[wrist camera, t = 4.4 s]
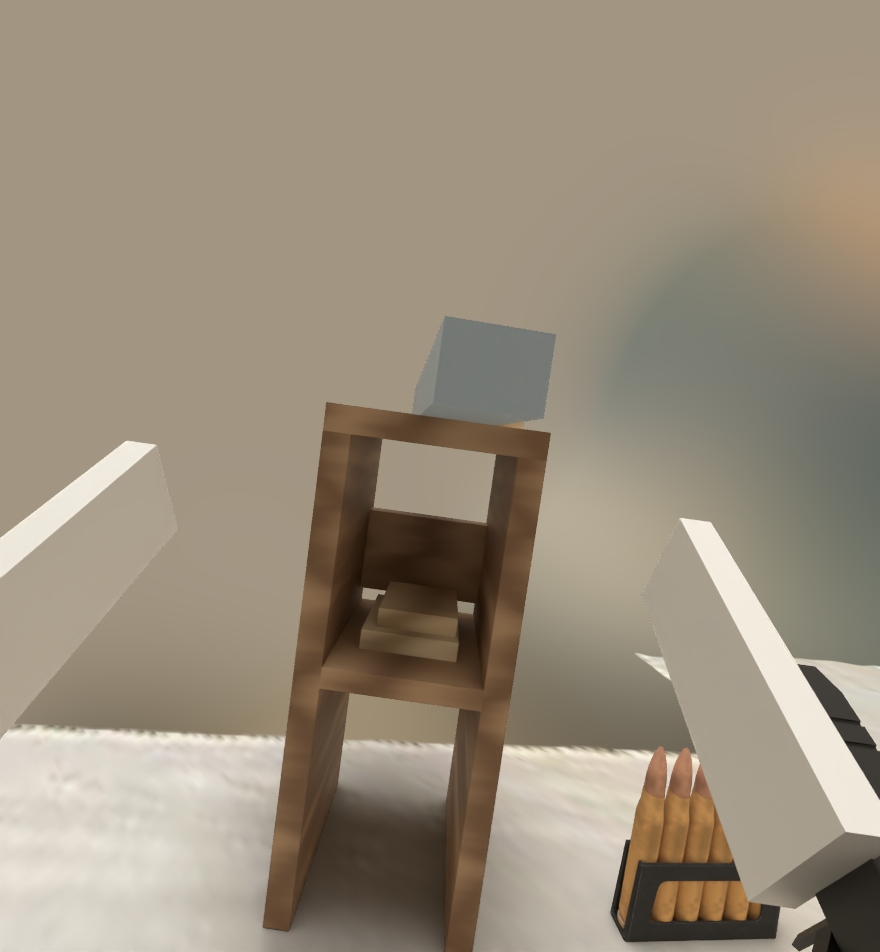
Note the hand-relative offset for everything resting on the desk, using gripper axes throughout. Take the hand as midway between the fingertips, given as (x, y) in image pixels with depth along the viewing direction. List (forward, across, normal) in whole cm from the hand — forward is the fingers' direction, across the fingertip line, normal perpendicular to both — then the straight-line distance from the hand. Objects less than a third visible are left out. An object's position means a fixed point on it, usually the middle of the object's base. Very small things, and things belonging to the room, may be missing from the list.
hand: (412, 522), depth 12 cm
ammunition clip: (+2, +21, -32) cm, 38 cm away
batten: (+16, 0, -5) cm, 17 cm away
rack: (+3, 0, -32) cm, 33 cm away
